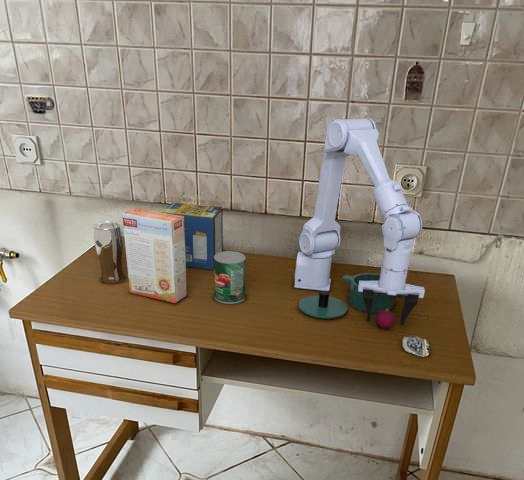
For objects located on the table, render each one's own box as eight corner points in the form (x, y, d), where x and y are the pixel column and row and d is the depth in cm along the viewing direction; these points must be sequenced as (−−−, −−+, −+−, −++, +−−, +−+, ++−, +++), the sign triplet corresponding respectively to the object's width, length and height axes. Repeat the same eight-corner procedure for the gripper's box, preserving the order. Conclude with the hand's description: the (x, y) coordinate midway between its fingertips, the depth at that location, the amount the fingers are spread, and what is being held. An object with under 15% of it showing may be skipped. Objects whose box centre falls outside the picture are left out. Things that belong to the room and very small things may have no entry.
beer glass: (94, 281, 138) (86, 226, 131) (110, 272, 144) (103, 219, 136) (116, 286, 136) (109, 231, 129) (131, 277, 142) (126, 223, 134)
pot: (392, 320, 126) (396, 298, 123) (331, 301, 134) (334, 280, 131) (409, 304, 134) (414, 283, 131) (351, 287, 142) (354, 267, 139)
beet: (374, 330, 121) (377, 311, 118) (374, 322, 125) (377, 303, 122) (393, 332, 120) (397, 314, 118) (393, 324, 124) (396, 305, 122)
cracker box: (188, 296, 133) (185, 215, 122) (175, 304, 128) (171, 221, 118) (143, 284, 138) (136, 206, 127) (128, 293, 133) (120, 212, 122)
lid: (332, 325, 122) (334, 308, 120) (288, 311, 128) (290, 293, 126) (355, 308, 131) (357, 291, 128) (313, 295, 137) (315, 278, 134)
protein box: (175, 252, 160) (172, 201, 152) (223, 257, 157) (223, 206, 149) (162, 264, 151) (159, 211, 143) (213, 270, 148) (213, 216, 141)
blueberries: (423, 338, 119) (425, 330, 118) (439, 356, 112) (441, 348, 111) (395, 339, 118) (397, 332, 117) (409, 357, 111) (411, 350, 110)
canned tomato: (250, 295, 135) (251, 255, 129) (235, 306, 129) (235, 265, 123) (224, 288, 138) (224, 249, 132) (208, 299, 132) (207, 258, 126)
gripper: (361, 270, 112) (353, 325, 119) (430, 277, 110) (418, 333, 117) (361, 259, 118) (354, 312, 125) (427, 265, 116) (415, 319, 123)
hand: (385, 321), depth 122 cm, fingers open, 7 cm apart
